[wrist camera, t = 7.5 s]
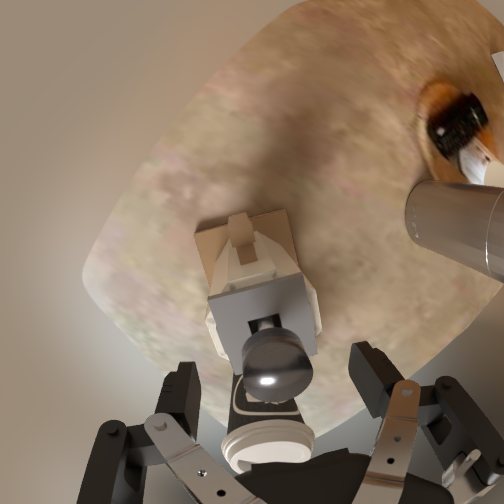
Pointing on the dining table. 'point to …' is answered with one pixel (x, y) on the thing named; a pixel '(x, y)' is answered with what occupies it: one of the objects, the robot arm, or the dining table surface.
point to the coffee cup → (264, 431)
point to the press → (255, 283)
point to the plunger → (275, 363)
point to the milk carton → (499, 62)
